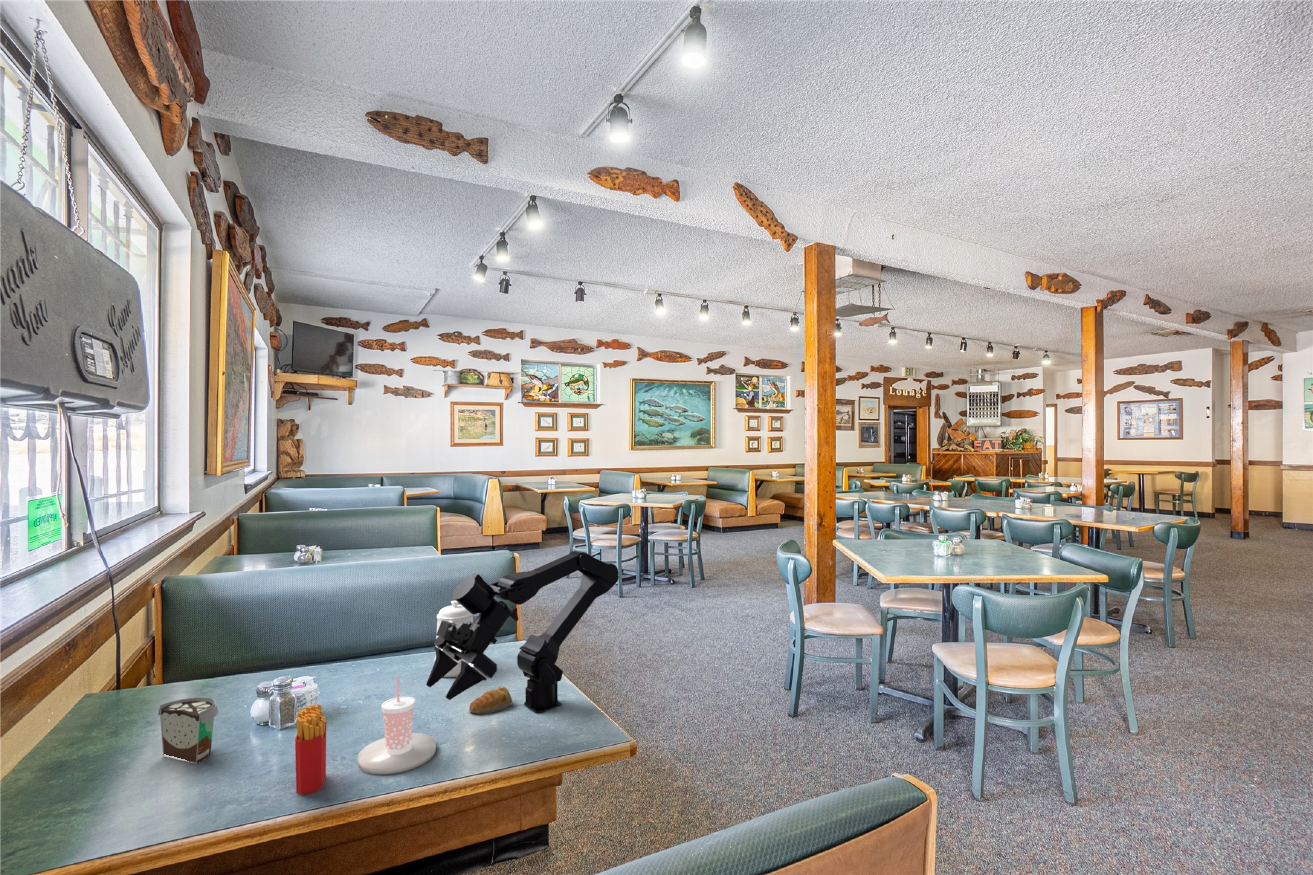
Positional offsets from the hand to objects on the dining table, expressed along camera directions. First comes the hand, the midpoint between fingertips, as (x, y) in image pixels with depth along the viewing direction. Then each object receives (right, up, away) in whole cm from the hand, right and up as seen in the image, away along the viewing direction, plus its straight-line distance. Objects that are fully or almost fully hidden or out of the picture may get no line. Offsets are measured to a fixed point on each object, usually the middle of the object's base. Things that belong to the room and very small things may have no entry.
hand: (437, 692), depth 127 cm
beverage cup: (-6, -9, -6) cm, 12 cm away
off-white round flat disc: (-6, -10, -6) cm, 13 cm away
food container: (-47, -11, -4) cm, 48 cm away
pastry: (+7, -11, +17) cm, 21 cm away
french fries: (-17, -10, -15) cm, 25 cm away
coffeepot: (-9, -11, +41) cm, 43 cm away
